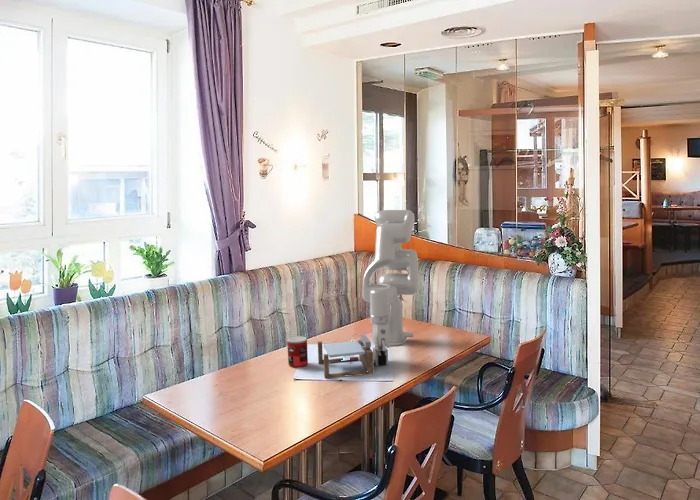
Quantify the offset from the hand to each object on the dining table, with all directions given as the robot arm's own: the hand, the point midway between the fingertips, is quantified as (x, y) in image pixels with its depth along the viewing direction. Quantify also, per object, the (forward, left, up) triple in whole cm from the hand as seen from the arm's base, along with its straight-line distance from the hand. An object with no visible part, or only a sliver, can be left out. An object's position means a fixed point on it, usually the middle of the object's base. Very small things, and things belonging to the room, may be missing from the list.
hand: (380, 361), depth 237 cm
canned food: (+33, -7, -1) cm, 34 cm away
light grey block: (0, 0, -1) cm, 1 cm away
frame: (+15, +2, 0) cm, 15 cm away
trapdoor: (+14, +2, +7) cm, 16 cm away
